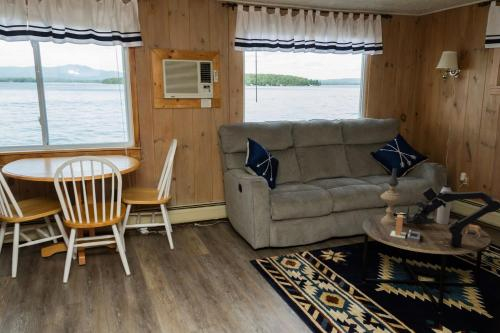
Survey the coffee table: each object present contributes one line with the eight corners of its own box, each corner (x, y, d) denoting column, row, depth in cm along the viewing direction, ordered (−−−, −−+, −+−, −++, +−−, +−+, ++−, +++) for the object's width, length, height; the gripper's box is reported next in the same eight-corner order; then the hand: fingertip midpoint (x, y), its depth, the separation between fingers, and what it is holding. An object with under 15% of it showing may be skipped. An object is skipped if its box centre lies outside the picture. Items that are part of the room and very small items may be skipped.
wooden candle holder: (403, 226, 265) (409, 171, 258) (382, 226, 265) (388, 170, 257) (395, 219, 280) (401, 166, 272) (375, 219, 280) (380, 166, 272)
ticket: (401, 233, 251) (403, 215, 249) (400, 235, 247) (402, 217, 244) (395, 232, 253) (397, 214, 250) (394, 234, 248) (396, 216, 246)
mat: (406, 233, 252) (406, 233, 252) (404, 238, 244) (404, 237, 243) (391, 231, 256) (391, 230, 256) (390, 236, 247) (390, 235, 247)
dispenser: (420, 235, 250) (420, 231, 249) (419, 242, 238) (419, 238, 238) (408, 233, 253) (409, 229, 252) (406, 240, 242) (407, 236, 241)
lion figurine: (458, 232, 258) (460, 219, 256) (460, 230, 262) (461, 217, 260) (483, 238, 249) (485, 225, 247) (484, 235, 253) (486, 223, 251)
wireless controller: (423, 217, 288) (426, 196, 284) (434, 224, 274) (437, 201, 271) (399, 218, 285) (401, 196, 281) (409, 224, 271) (412, 201, 268)
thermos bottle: (442, 220, 281) (447, 183, 276) (450, 224, 274) (455, 186, 268) (433, 221, 279) (438, 184, 273) (441, 225, 271) (446, 187, 266)
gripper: (424, 192, 247) (405, 206, 254) (423, 199, 231) (402, 214, 238) (436, 205, 245) (416, 219, 252) (436, 213, 229) (414, 228, 236)
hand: (412, 219), depth 244 cm, fingers open, 9 cm apart
